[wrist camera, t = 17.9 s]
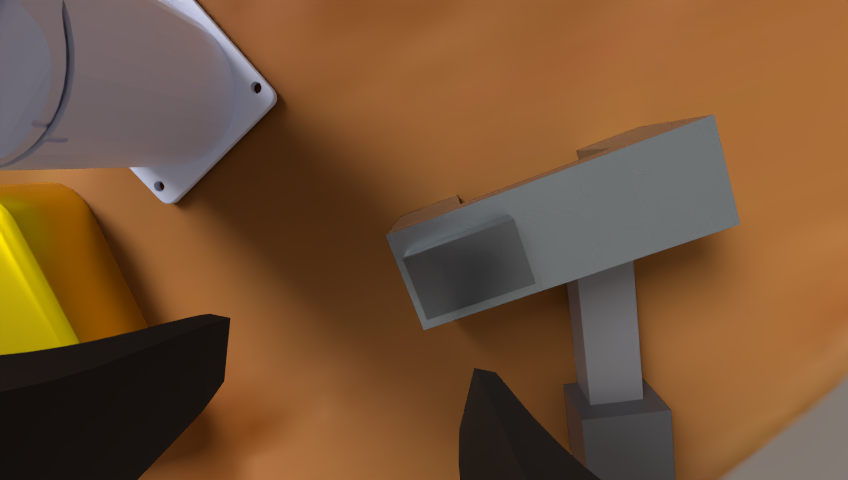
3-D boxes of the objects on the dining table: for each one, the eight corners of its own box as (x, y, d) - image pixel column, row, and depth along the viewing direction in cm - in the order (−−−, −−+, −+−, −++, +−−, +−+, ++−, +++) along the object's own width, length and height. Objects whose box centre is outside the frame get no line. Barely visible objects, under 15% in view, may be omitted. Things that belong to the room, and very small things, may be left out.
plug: (548, 259, 20) (566, 276, 17) (630, 247, 20) (662, 262, 17) (572, 464, 22) (591, 510, 19) (645, 456, 22) (676, 502, 19)
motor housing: (400, 216, 20) (380, 242, 14) (639, 126, 18) (739, 109, 12) (429, 288, 21) (422, 344, 14) (661, 207, 19) (767, 230, 13)
